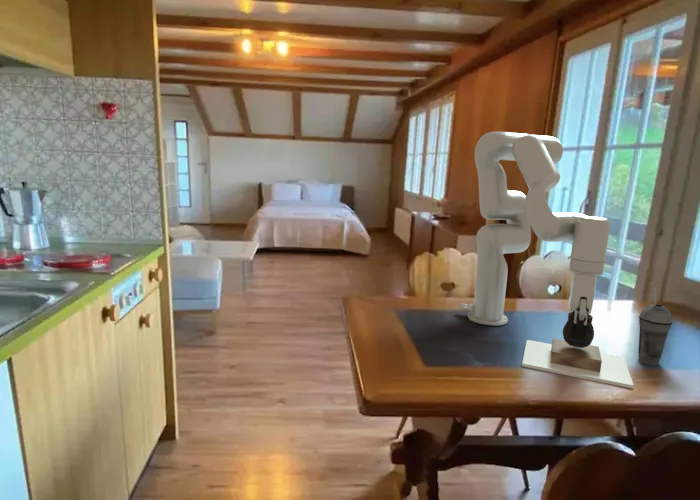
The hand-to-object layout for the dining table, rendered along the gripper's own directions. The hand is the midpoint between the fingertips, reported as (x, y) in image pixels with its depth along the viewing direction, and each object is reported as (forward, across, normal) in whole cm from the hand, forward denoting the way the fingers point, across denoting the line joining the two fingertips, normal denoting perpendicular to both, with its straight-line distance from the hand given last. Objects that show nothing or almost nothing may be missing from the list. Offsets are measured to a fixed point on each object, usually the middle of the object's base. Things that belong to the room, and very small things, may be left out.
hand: (577, 333), depth 114 cm
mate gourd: (+3, 0, 0) cm, 3 cm away
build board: (+8, 0, 0) cm, 8 cm away
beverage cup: (+8, -11, +18) cm, 23 cm away
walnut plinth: (+7, 0, 0) cm, 7 cm away
